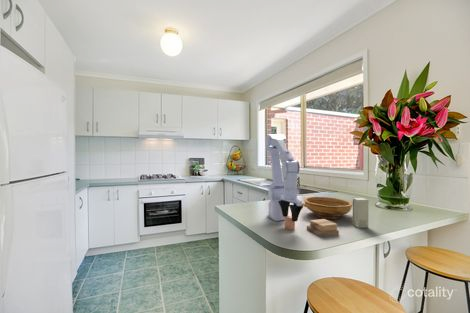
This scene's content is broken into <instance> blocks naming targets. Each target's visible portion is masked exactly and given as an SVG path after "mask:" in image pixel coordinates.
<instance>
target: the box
mask: <svg viewBox="0 0 470 313" xmlns="http://www.w3.org/2000/svg"><path fill="white" fill-rule="evenodd" d="M352 203H353V205H352V225H353V226H354V227H356V228H357V229H358V228H359V229H360V228H361V229H363V228H364V229H366V228H367V229H368V228H369V199H366V198H364V197H354V198H353V197H352Z"/></svg>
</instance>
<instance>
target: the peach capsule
mask: <svg viewBox="0 0 470 313" xmlns="http://www.w3.org/2000/svg"><path fill="white" fill-rule="evenodd" d="M295 229H296V221H294V222H293V221H292V215H288V216H285V220H284V230H286V231H294V230H295Z"/></svg>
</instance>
